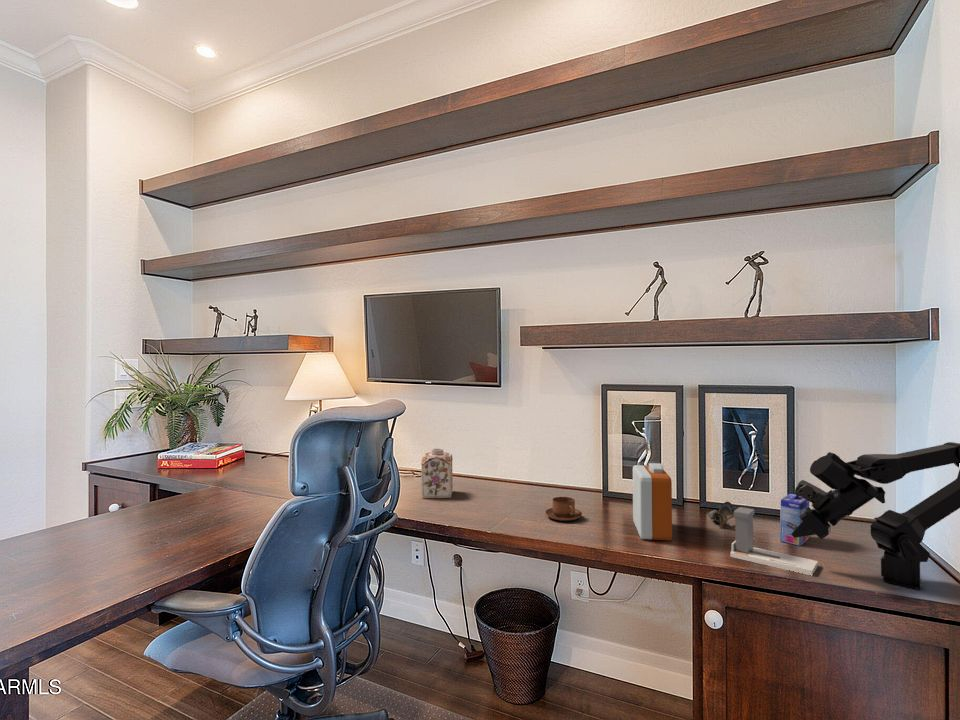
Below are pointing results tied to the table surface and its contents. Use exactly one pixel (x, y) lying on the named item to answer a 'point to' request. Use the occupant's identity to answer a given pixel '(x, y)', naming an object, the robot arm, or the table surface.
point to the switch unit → (776, 560)
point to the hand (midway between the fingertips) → (793, 535)
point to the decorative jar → (436, 474)
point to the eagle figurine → (722, 514)
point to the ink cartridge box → (792, 518)
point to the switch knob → (744, 529)
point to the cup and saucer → (563, 509)
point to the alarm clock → (652, 502)
